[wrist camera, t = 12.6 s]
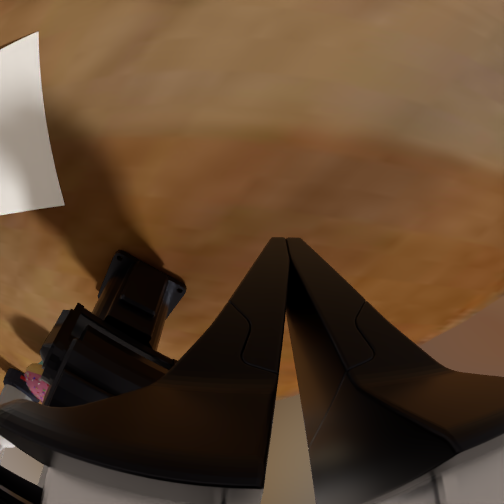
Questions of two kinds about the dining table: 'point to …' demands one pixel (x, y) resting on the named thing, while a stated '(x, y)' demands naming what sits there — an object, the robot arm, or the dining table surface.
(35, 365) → the cupcake
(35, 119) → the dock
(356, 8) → the dining table surface
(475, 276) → the dining table surface
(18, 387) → the humidifier
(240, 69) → the dining table surface
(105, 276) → the robot arm
